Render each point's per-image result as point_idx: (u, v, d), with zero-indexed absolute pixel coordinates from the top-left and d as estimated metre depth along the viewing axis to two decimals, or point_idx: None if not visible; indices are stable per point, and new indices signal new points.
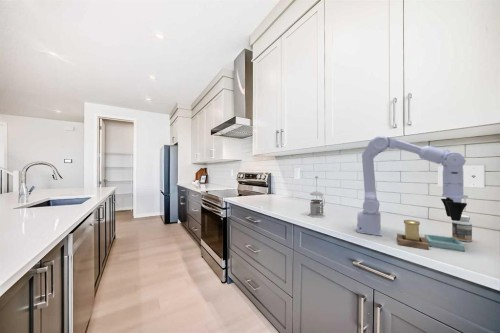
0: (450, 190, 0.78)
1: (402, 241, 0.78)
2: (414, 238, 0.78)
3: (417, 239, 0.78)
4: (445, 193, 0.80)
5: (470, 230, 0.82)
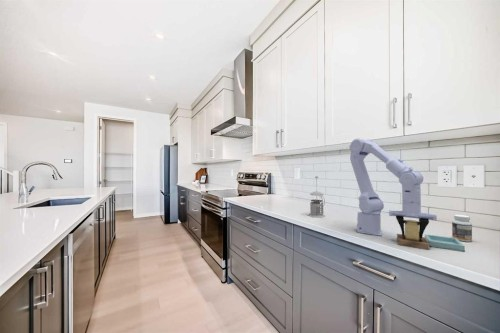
0: None
1: (402, 241, 0.78)
2: (414, 238, 0.78)
3: (417, 239, 0.78)
4: None
5: (470, 230, 0.82)
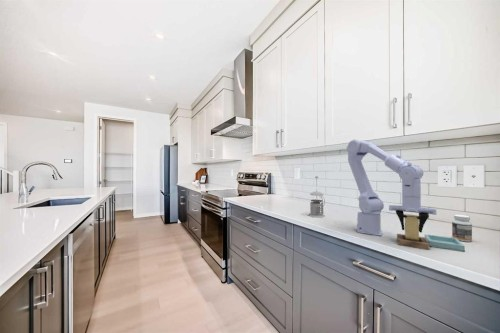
0: None
1: (402, 241, 0.78)
2: (414, 232, 0.79)
3: (417, 233, 0.78)
4: None
5: (470, 230, 0.82)
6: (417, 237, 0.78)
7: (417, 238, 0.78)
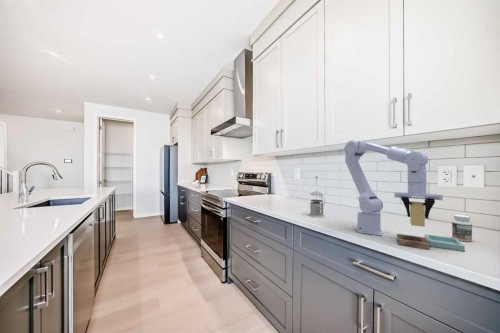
0: None
1: (402, 241, 0.78)
2: (420, 219, 0.78)
3: (423, 220, 0.78)
4: None
5: (470, 230, 0.82)
6: (423, 223, 0.78)
7: (423, 224, 0.78)
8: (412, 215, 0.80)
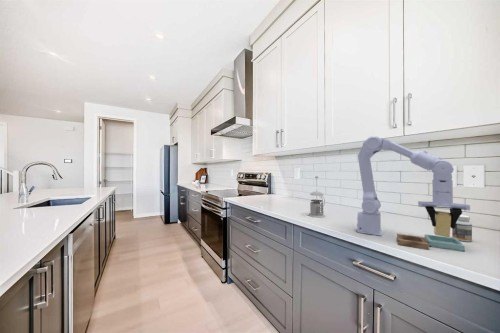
0: None
1: (402, 241, 0.78)
2: (445, 229, 0.77)
3: (448, 230, 0.77)
4: None
5: (470, 230, 0.82)
6: (448, 234, 0.77)
7: (448, 235, 0.77)
8: (437, 225, 0.79)
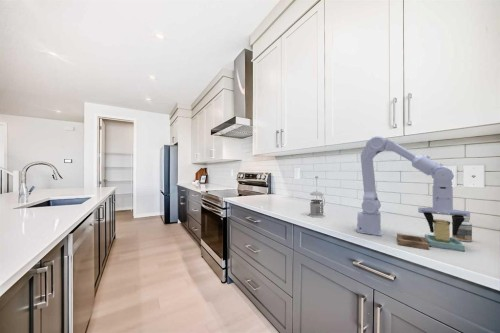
0: None
1: (402, 241, 0.78)
2: (444, 238, 0.77)
3: (448, 239, 0.77)
4: None
5: (470, 230, 0.82)
6: None
7: None
8: (436, 234, 0.79)
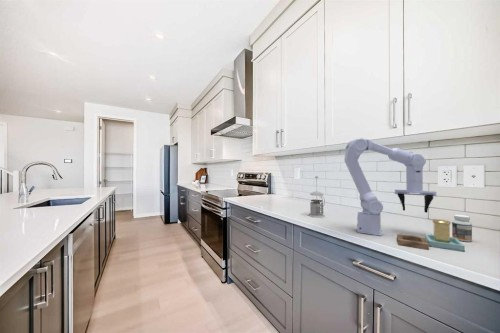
0: None
1: (402, 241, 0.78)
2: (444, 238, 0.77)
3: (448, 239, 0.77)
4: None
5: (470, 230, 0.82)
6: None
7: None
8: (436, 234, 0.79)
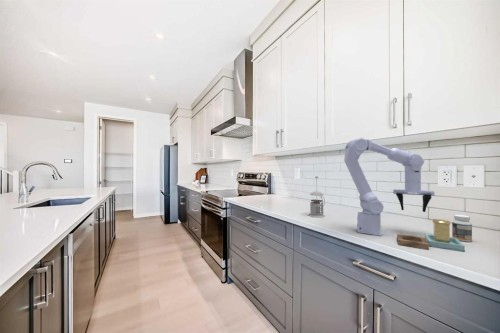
0: None
1: (402, 241, 0.78)
2: (444, 238, 0.77)
3: (448, 239, 0.77)
4: None
5: (470, 230, 0.82)
6: None
7: None
8: (436, 234, 0.79)
